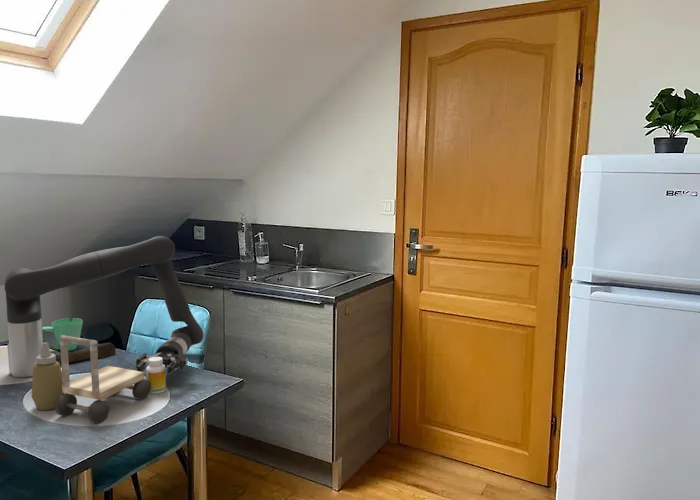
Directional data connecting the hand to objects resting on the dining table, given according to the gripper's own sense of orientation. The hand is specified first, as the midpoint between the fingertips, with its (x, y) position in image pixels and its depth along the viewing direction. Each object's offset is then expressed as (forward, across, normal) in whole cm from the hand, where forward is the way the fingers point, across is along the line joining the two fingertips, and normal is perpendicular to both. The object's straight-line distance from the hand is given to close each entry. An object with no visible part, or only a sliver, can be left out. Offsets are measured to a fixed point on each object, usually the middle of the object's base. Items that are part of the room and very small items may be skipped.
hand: (153, 370), depth 163 cm
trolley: (+10, -10, +7) cm, 16 cm away
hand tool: (-27, -33, +8) cm, 44 cm away
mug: (-35, -46, +7) cm, 58 cm away
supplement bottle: (-2, 0, +7) cm, 7 cm away
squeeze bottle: (+10, -25, +7) cm, 28 cm away
